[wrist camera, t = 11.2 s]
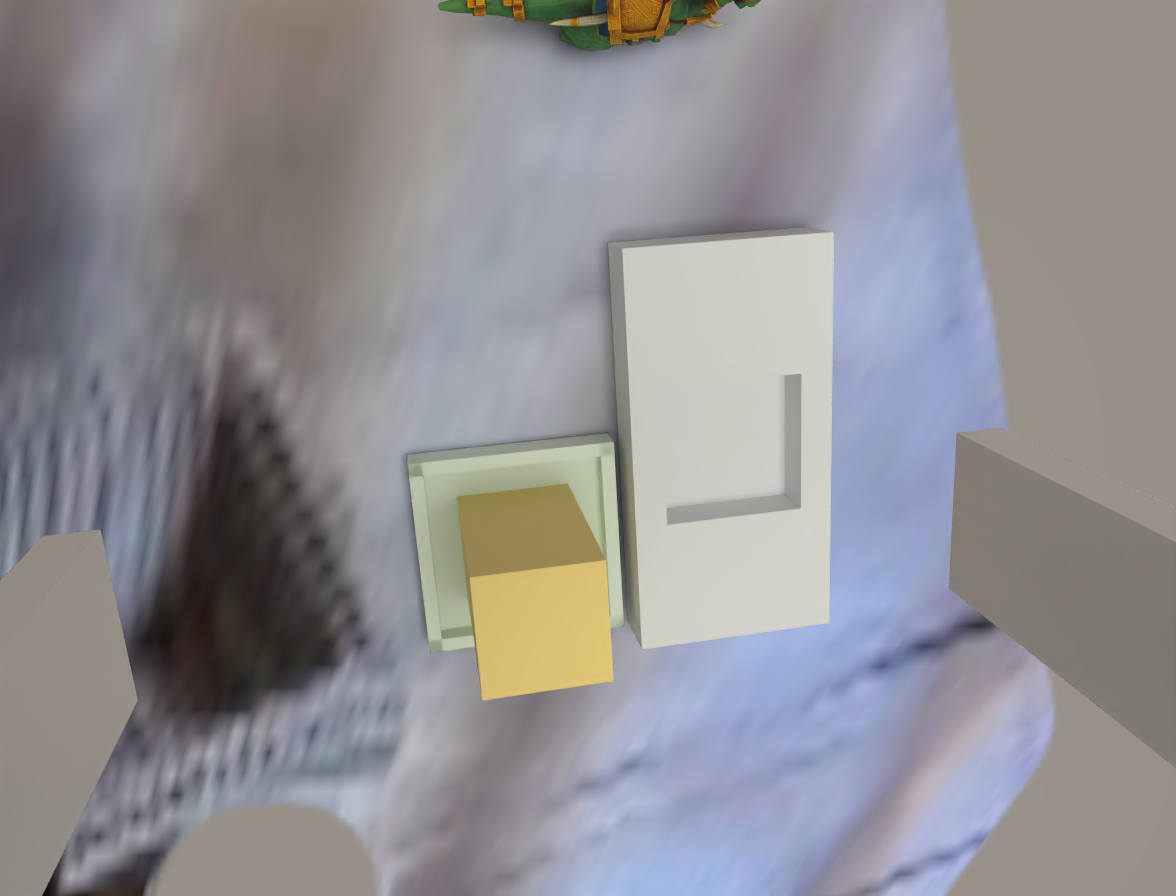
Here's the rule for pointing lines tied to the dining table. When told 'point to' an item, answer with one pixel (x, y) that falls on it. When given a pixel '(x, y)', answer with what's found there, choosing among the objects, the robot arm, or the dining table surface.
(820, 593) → the recessed block
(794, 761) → the dining table surface
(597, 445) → the tray
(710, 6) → the figurine
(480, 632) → the block
